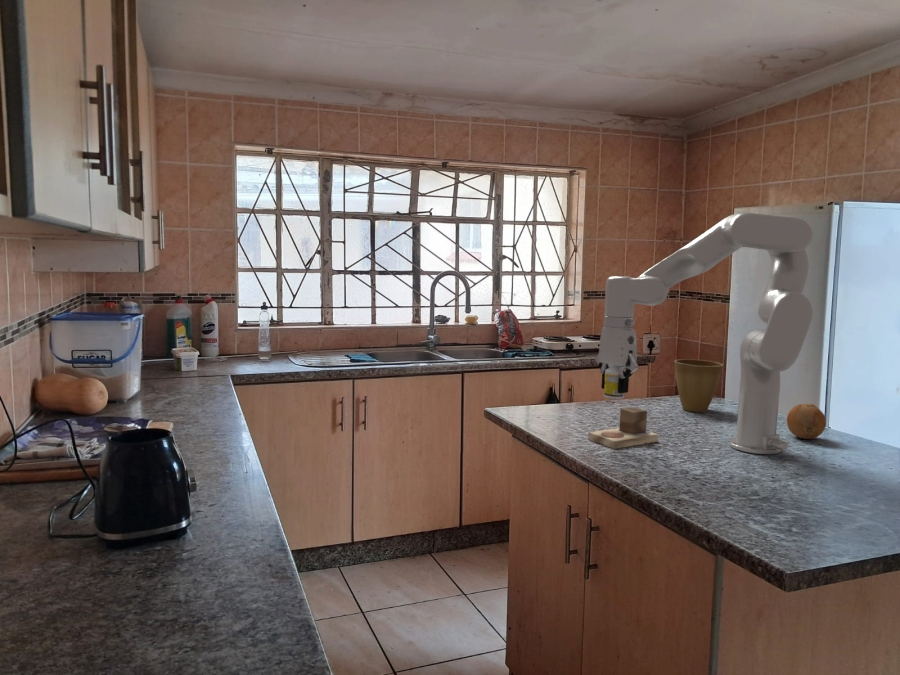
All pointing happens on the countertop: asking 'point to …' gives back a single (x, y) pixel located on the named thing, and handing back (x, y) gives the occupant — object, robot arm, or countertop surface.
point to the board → (621, 438)
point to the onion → (806, 421)
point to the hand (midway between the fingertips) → (614, 389)
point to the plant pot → (697, 383)
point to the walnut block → (633, 420)
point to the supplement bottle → (612, 383)
